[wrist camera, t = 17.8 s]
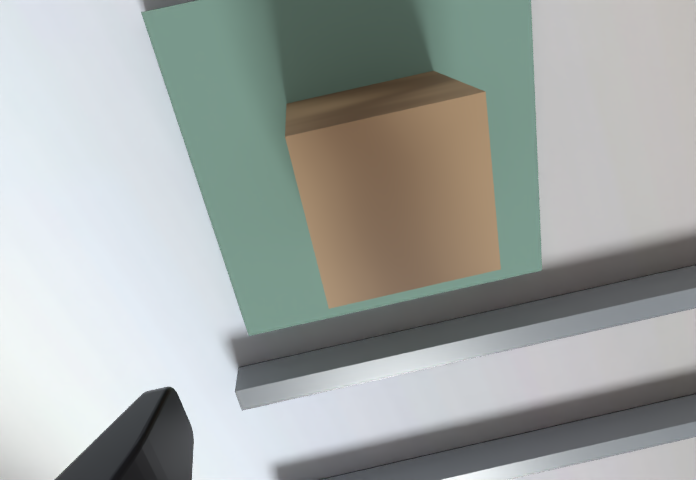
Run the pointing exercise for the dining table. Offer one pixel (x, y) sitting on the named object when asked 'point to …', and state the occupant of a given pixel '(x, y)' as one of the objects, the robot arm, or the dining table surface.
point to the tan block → (395, 185)
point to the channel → (489, 338)
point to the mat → (321, 79)
